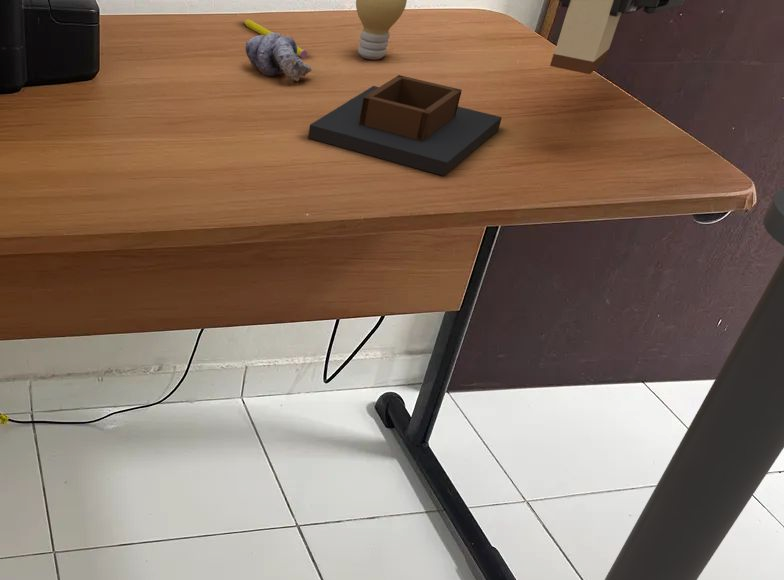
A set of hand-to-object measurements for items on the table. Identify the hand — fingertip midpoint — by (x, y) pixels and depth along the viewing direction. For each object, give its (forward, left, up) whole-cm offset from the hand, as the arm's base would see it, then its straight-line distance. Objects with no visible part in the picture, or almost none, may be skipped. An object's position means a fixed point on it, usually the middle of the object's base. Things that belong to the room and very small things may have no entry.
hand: (592, 0), depth 87 cm
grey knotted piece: (+34, +12, -15) cm, 39 cm away
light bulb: (+34, -4, -15) cm, 37 cm away
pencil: (+46, +4, -16) cm, 49 cm away
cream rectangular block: (+1, -2, -7) cm, 7 cm away
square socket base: (+11, +10, -15) cm, 21 cm away
